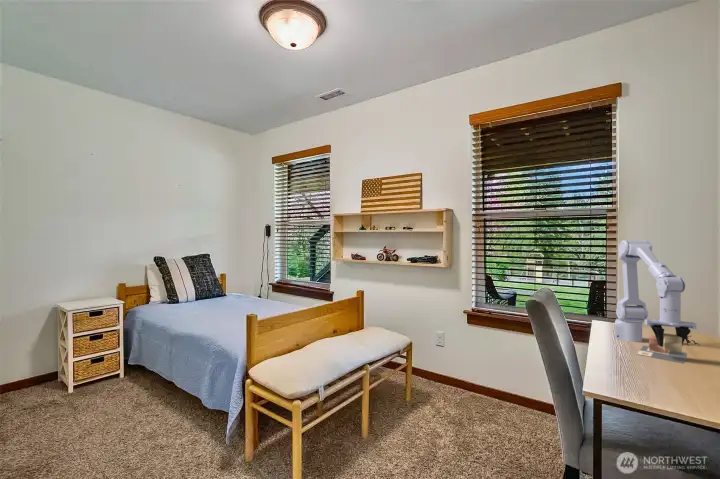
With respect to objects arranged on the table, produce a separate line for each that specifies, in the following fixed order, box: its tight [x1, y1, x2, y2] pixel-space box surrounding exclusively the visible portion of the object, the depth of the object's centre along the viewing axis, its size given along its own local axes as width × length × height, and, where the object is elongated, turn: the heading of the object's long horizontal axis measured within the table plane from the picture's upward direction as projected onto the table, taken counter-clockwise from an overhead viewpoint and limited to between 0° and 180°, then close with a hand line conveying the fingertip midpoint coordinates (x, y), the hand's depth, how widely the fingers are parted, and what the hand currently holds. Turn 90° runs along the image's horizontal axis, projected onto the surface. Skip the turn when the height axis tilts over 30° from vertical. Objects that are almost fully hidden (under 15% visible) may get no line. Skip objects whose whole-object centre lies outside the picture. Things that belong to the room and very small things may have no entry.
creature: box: [685, 335, 701, 347], centre depth 144 cm, size 8×5×8 cm
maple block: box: [658, 332, 683, 353], centre depth 127 cm, size 5×5×5 cm
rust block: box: [648, 334, 668, 354], centre depth 135 cm, size 5×5×5 cm
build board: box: [636, 345, 688, 365], centre depth 131 cm, size 13×16×1 cm
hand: (669, 346), depth 127 cm, fingers closed on maple block, 5 cm apart
